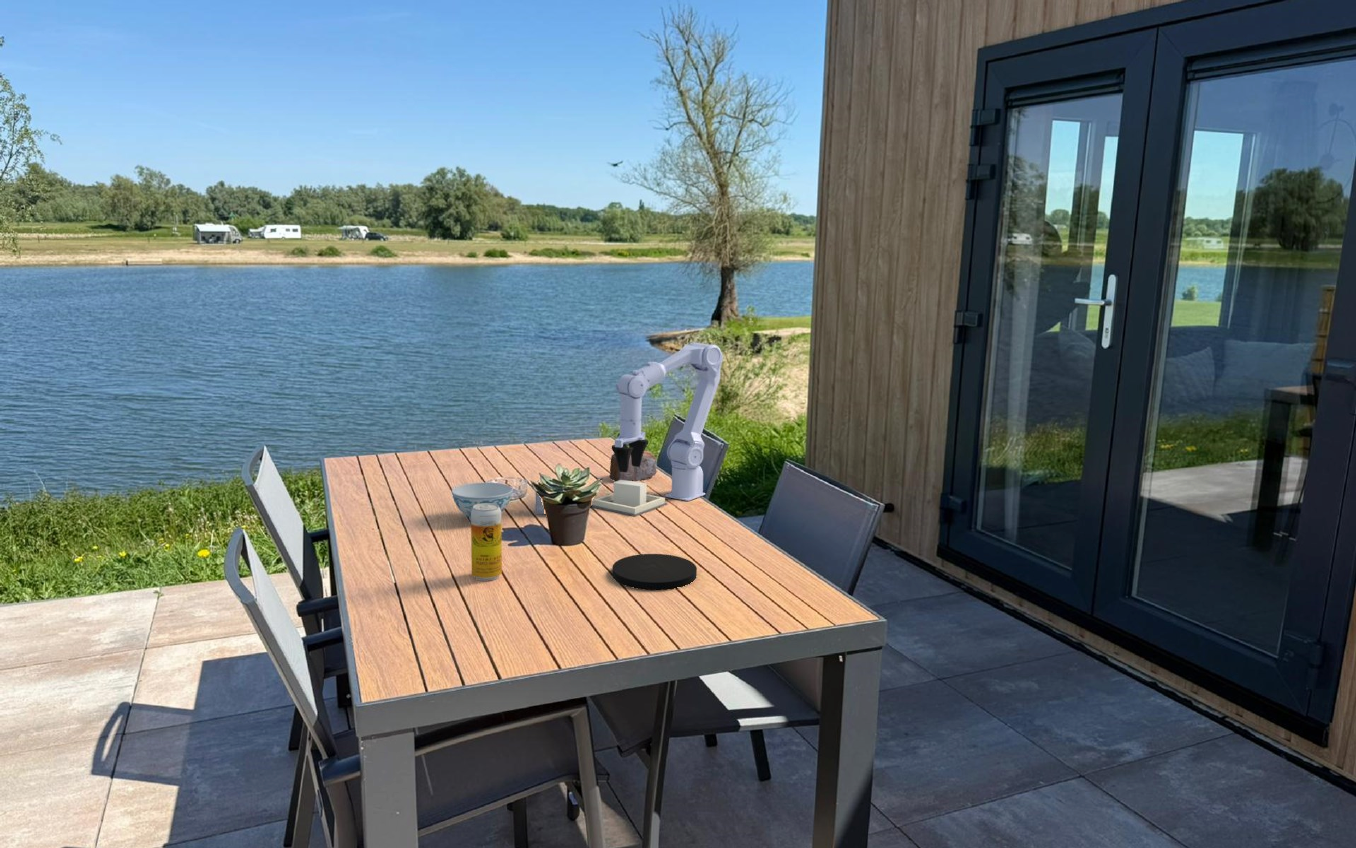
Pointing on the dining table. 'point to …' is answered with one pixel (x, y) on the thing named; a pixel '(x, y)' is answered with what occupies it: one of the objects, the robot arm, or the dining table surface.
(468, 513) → the chinaware
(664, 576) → the wireless charger
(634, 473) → the food item
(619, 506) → the shallow square tray
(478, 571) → the beer can
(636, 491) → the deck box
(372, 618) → the dining table surface
